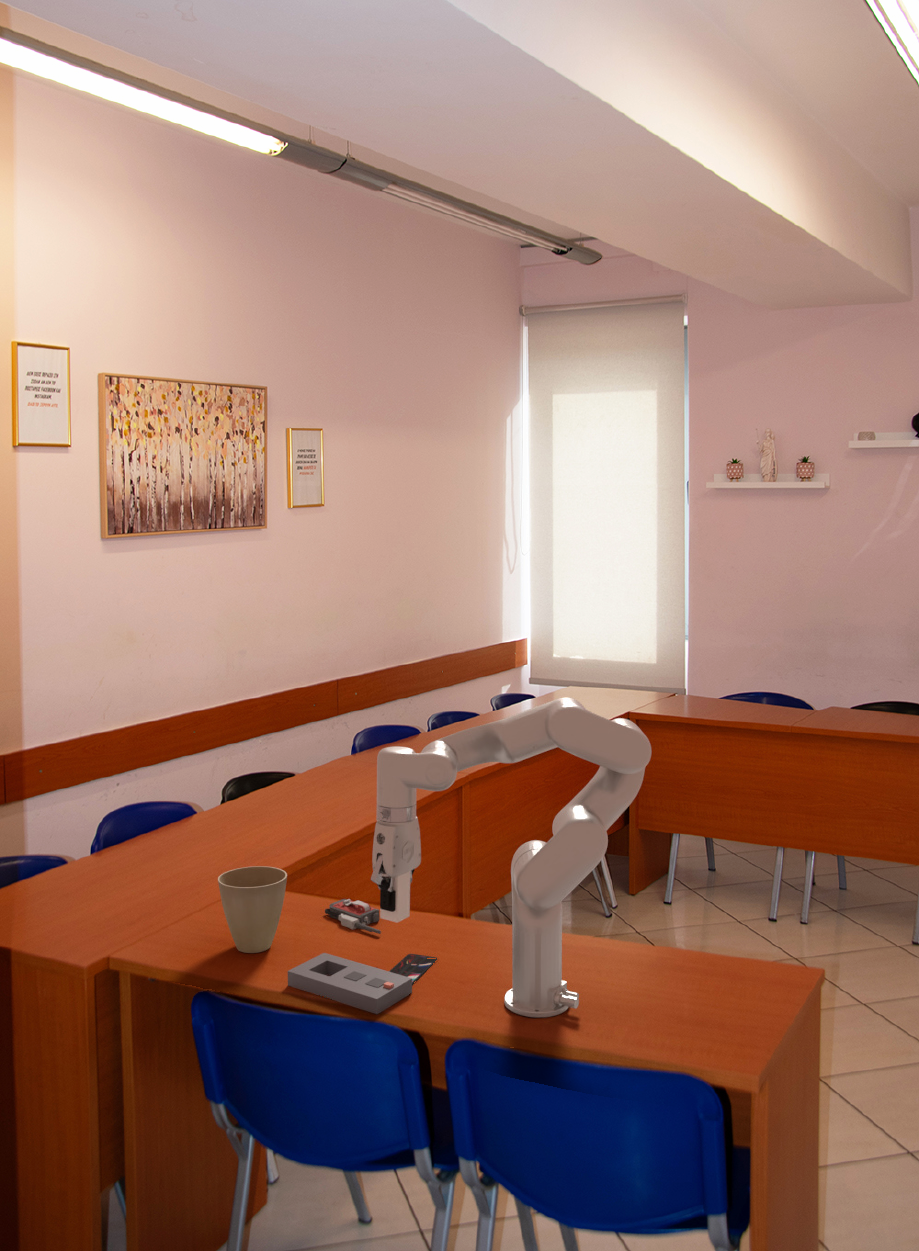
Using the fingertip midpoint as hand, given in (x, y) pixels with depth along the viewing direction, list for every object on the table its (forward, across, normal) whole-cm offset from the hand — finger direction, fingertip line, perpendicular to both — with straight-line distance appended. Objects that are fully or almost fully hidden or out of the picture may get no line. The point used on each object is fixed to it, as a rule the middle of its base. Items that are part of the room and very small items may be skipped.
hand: (395, 905), depth 201 cm
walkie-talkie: (+21, +30, +32) cm, 49 cm away
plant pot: (+21, +7, +43) cm, 48 cm away
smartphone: (+20, +15, +7) cm, 26 cm away
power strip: (+20, +1, +11) cm, 23 cm away
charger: (+2, 0, 0) cm, 2 cm away
